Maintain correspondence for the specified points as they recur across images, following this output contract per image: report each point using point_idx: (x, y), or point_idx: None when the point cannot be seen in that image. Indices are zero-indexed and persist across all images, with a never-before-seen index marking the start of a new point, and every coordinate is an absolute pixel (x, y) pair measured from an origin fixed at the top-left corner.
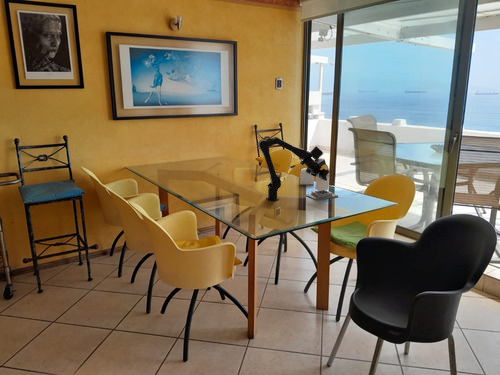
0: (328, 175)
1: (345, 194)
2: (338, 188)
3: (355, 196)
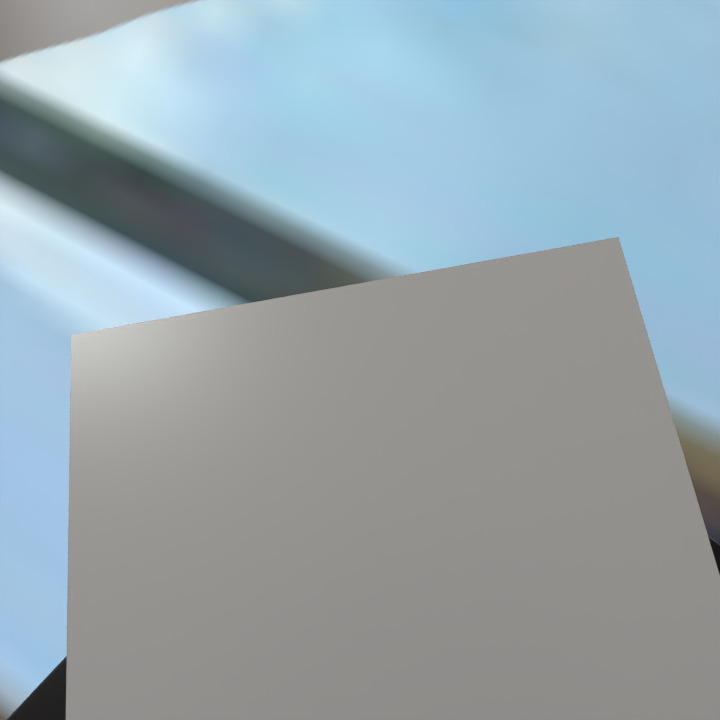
0: (632, 329)
1: (425, 99)
2: (79, 55)
3: (579, 12)
